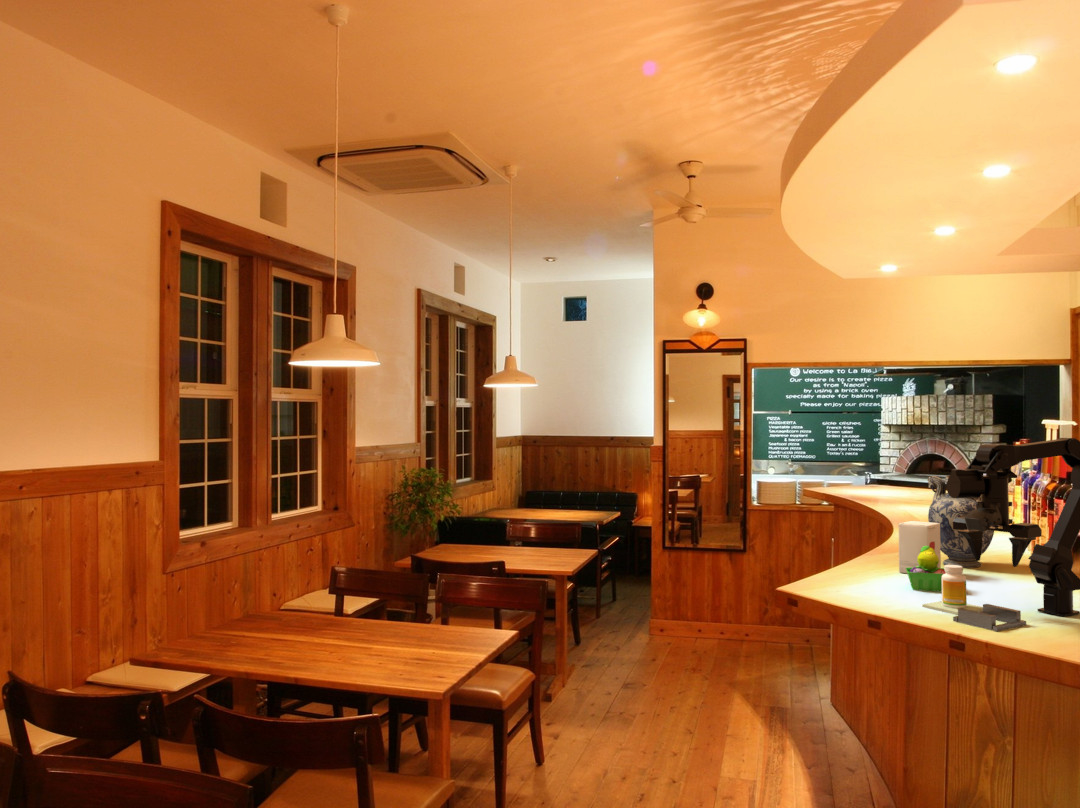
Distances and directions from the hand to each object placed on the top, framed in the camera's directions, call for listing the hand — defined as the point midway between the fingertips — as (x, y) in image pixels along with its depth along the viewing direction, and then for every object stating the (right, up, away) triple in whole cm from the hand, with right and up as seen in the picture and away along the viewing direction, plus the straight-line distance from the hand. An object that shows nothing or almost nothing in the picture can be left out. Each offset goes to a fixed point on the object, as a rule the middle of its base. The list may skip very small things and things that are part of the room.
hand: (996, 563), depth 193 cm
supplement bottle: (-7, -12, +6) cm, 15 cm away
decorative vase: (+25, -13, +63) cm, 69 cm away
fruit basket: (-2, -13, +29) cm, 32 cm away
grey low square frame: (-6, -12, -8) cm, 16 cm away
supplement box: (+6, -13, +51) cm, 53 cm away
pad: (-7, -12, +6) cm, 15 cm away
